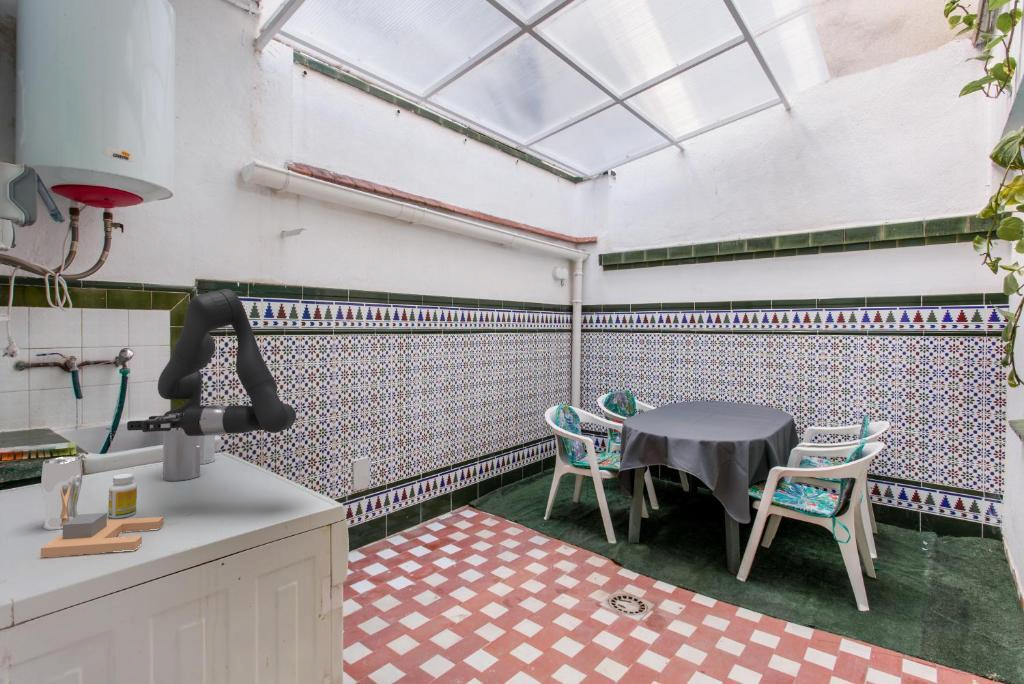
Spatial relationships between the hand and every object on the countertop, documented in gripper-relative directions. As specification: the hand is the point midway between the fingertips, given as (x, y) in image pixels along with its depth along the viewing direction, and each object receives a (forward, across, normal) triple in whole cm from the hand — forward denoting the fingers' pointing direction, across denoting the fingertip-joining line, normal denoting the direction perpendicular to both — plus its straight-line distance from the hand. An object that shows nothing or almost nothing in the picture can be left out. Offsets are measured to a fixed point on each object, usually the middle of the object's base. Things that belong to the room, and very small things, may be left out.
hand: (139, 423), depth 122 cm
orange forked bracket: (-3, +16, +23) cm, 28 cm away
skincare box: (+8, -48, +21) cm, 53 cm away
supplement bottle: (+4, +1, +22) cm, 23 cm away
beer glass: (+13, +7, +22) cm, 26 cm away
